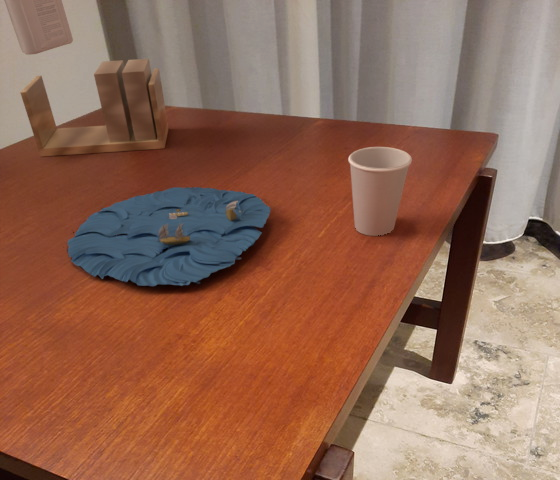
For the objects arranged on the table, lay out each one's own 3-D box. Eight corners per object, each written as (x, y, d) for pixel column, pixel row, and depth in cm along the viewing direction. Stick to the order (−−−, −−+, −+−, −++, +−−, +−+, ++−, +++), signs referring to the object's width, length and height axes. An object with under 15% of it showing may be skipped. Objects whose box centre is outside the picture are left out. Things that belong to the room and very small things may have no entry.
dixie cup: (335, 232, 79) (337, 162, 73) (359, 209, 84) (363, 142, 78) (390, 245, 76) (398, 173, 69) (412, 220, 81) (421, 151, 74)
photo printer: (59, 42, 100) (32, -42, 92) (77, 42, 99) (52, -44, 91) (19, 56, 93) (-13, -35, 85) (38, 55, 92) (7, -37, 84)
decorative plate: (69, 321, 67) (54, 285, 63) (71, 215, 89) (60, 183, 85) (302, 271, 71) (300, 235, 68) (249, 181, 93) (246, 150, 90)
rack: (40, 156, 107) (16, 80, 98) (54, 136, 116) (33, 64, 107) (164, 148, 108) (151, 71, 99) (168, 128, 117) (157, 57, 108)
